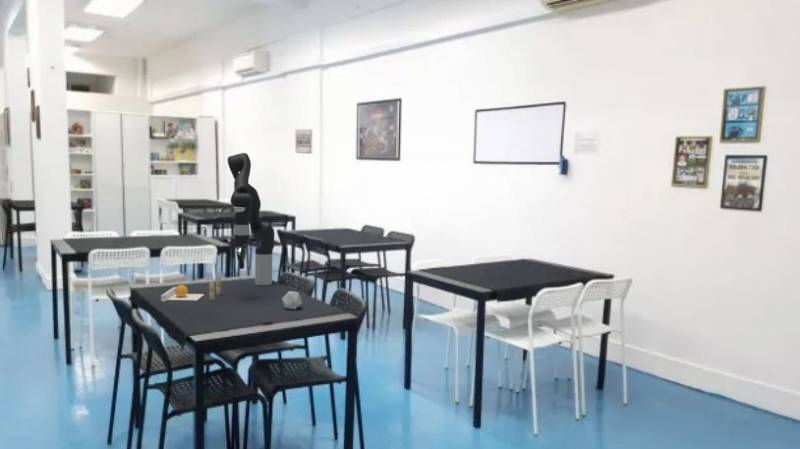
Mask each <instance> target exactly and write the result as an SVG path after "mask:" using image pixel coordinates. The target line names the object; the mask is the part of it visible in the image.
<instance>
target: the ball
mask: <svg viewBox="0 0 800 449" xmlns="http://www.w3.org/2000/svg"><path fill="white" fill-rule="evenodd" d="M175 287H176V289H175V294H176V295H177V296H178V297H184V296H186V295H187V294H189V293H188V292H189V289H188V287H187V286H186V285H184V284H181V285H180V284H179V285H177V286H175Z"/></svg>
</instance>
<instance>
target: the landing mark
mask: <svg viewBox="0 0 800 449" xmlns="http://www.w3.org/2000/svg"><path fill="white" fill-rule="evenodd" d="M203 296H205V294H204V293H187V295H186V296H184V297H178V296H177V295H176V294H175V295H173V296H172V297H171V298H169V299H168V300H167V301H198V300H199V299H201V298H202V297H203Z"/></svg>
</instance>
